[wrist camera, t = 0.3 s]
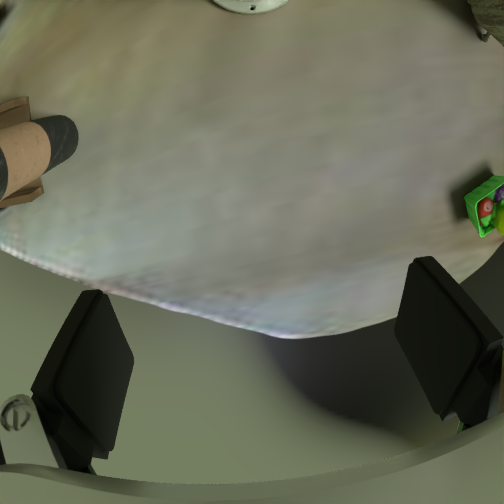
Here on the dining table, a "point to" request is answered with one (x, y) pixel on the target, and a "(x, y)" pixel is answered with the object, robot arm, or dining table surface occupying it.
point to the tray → (8, 117)
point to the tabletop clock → (489, 17)
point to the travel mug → (34, 150)
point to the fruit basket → (487, 206)
